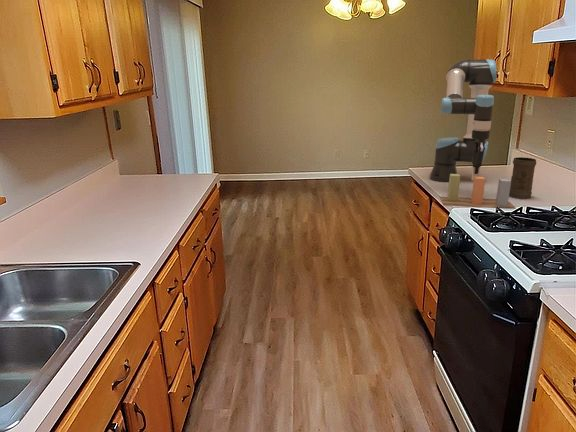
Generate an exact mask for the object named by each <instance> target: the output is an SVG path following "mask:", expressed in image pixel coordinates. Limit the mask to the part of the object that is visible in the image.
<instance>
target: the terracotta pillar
mask: <svg viewBox="0 0 576 432" xmlns="http://www.w3.org/2000/svg"><path fill="white" fill-rule="evenodd" d="M472 182H473V184H472V191H471V197H470V198H471V202H472V204H481V205H482V201H483V199H484V193H485V192H484V191H485V185H486V178H485V177H484V176H479V177H474V180H473V181H472Z"/></svg>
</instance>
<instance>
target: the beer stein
mask: <svg viewBox="0 0 576 432" xmlns="http://www.w3.org/2000/svg"><path fill="white" fill-rule="evenodd" d="M512 165H513V168H512V175H511V176H510V177H511V178H510V181H511V186H510V192H509V198H512V199H516V200H517V199H518V200H530V199H532V194H533V192H532V191H533V190H532V189H533V182H534V174H535V167H536V165H537V159H535V158H532V157H514V158H513V159H512Z"/></svg>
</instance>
